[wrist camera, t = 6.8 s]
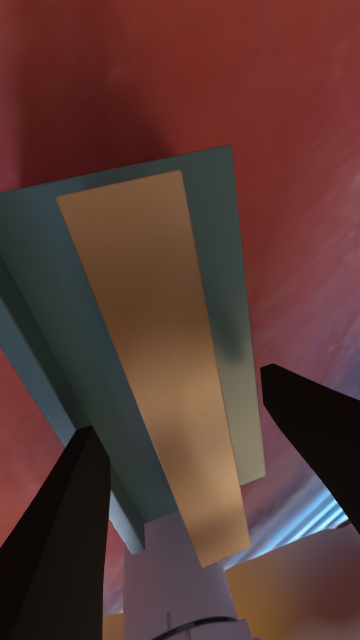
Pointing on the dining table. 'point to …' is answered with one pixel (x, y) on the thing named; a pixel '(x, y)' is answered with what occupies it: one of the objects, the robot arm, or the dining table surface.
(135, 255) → the stick
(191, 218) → the shelf
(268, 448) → the dining table surface
